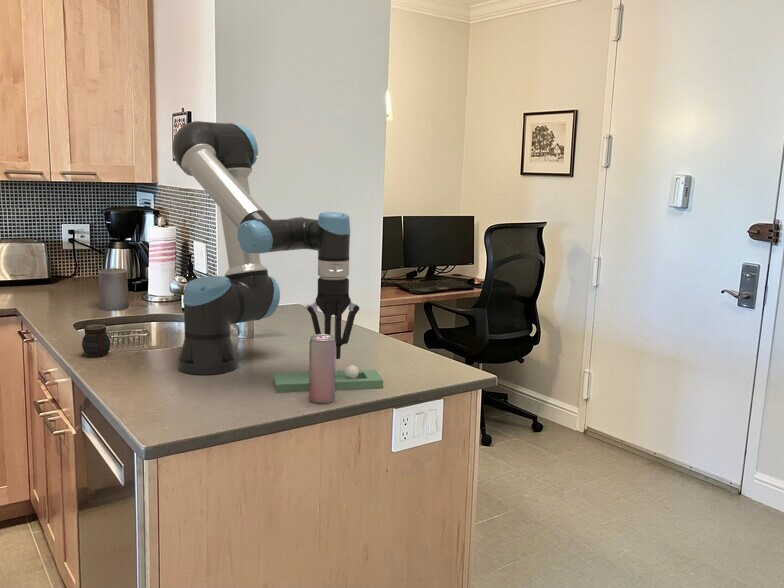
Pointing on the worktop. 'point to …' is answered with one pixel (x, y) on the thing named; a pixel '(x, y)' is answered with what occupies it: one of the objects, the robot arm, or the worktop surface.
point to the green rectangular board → (362, 381)
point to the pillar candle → (113, 289)
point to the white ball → (351, 372)
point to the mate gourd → (95, 340)
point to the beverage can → (322, 368)
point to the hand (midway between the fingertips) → (332, 371)
